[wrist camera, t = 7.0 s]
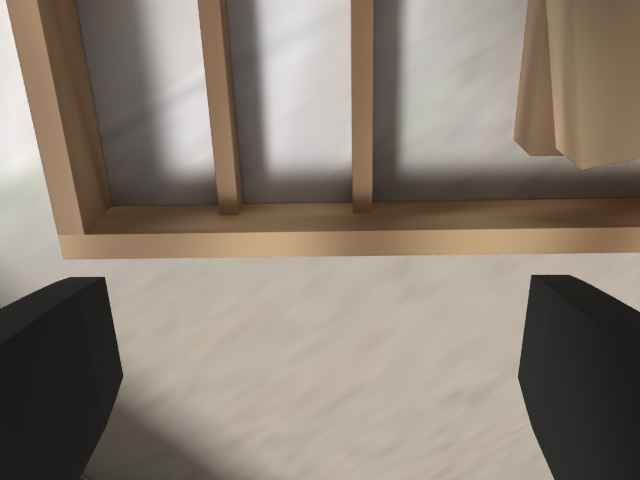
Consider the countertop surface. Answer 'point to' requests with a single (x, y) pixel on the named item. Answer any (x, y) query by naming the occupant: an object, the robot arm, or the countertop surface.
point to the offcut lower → (536, 87)
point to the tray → (230, 213)
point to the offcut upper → (595, 79)
